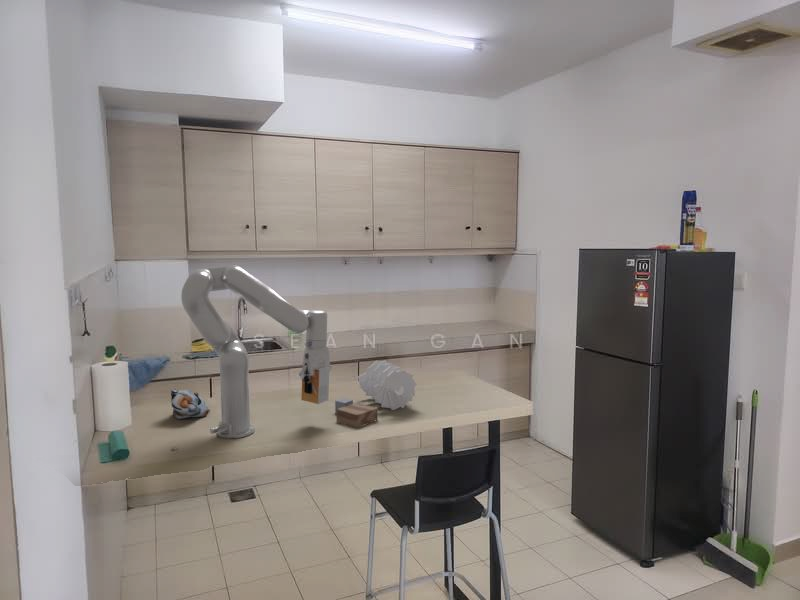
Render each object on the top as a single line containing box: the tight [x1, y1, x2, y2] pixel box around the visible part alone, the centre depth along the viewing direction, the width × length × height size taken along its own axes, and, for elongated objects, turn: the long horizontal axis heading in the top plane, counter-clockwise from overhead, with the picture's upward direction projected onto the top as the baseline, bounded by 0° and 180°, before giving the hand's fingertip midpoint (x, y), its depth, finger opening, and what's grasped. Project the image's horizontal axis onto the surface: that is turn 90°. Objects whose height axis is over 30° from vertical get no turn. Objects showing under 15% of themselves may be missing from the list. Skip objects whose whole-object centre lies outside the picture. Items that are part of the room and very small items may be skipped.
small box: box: [301, 366, 330, 405], centre depth 202 cm, size 8×6×13 cm
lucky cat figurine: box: [170, 388, 211, 420], centre depth 210 cm, size 15×12×14 cm
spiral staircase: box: [357, 360, 417, 411], centre depth 228 cm, size 18×18×25 cm
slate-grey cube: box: [334, 397, 354, 414], centre depth 217 cm, size 5×5×5 cm
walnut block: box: [336, 402, 378, 428], centre depth 207 cm, size 11×11×5 cm
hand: (315, 390), depth 202 cm, fingers closed on small box, 6 cm apart
